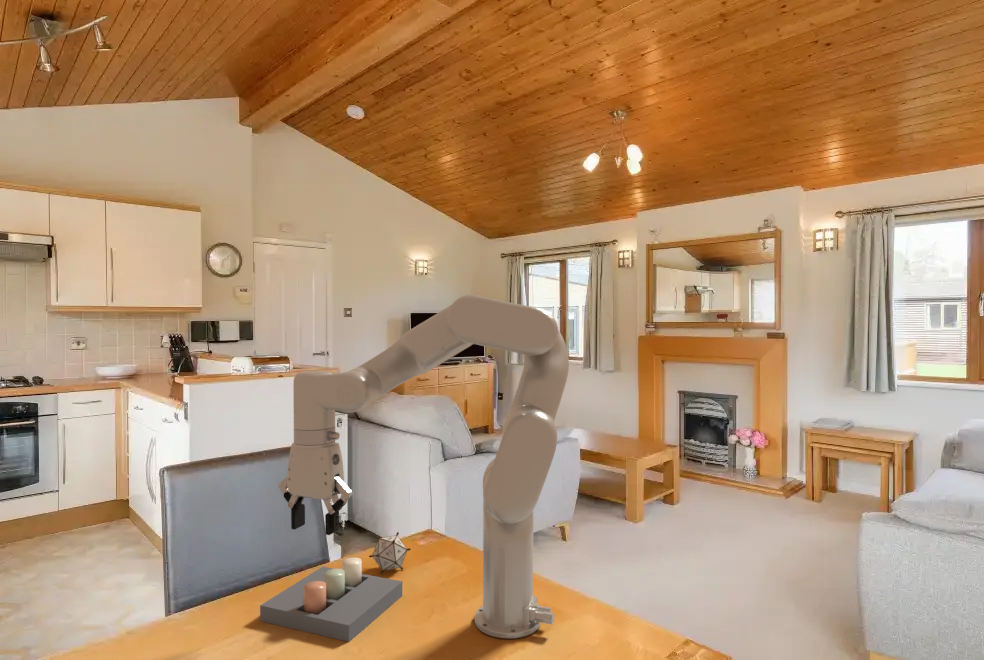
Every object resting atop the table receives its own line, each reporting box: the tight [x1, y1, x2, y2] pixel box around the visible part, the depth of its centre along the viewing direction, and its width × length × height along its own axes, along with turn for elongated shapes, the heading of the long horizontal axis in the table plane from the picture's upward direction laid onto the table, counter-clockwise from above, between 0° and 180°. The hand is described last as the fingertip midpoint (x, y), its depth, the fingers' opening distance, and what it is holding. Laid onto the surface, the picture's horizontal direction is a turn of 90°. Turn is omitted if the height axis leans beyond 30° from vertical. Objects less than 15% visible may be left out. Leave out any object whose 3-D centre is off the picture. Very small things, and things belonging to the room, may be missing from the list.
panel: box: [259, 566, 403, 643], centre depth 119 cm, size 20×19×3 cm
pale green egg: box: [324, 568, 345, 601], centre depth 119 cm, size 4×4×5 cm
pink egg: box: [304, 581, 326, 615], centre depth 113 cm, size 4×4×5 cm
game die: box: [368, 531, 412, 575], centre depth 137 cm, size 9×8×10 cm
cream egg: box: [341, 557, 363, 587], centre depth 125 cm, size 4×4×5 cm
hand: (314, 529), depth 113 cm, fingers open, 7 cm apart
